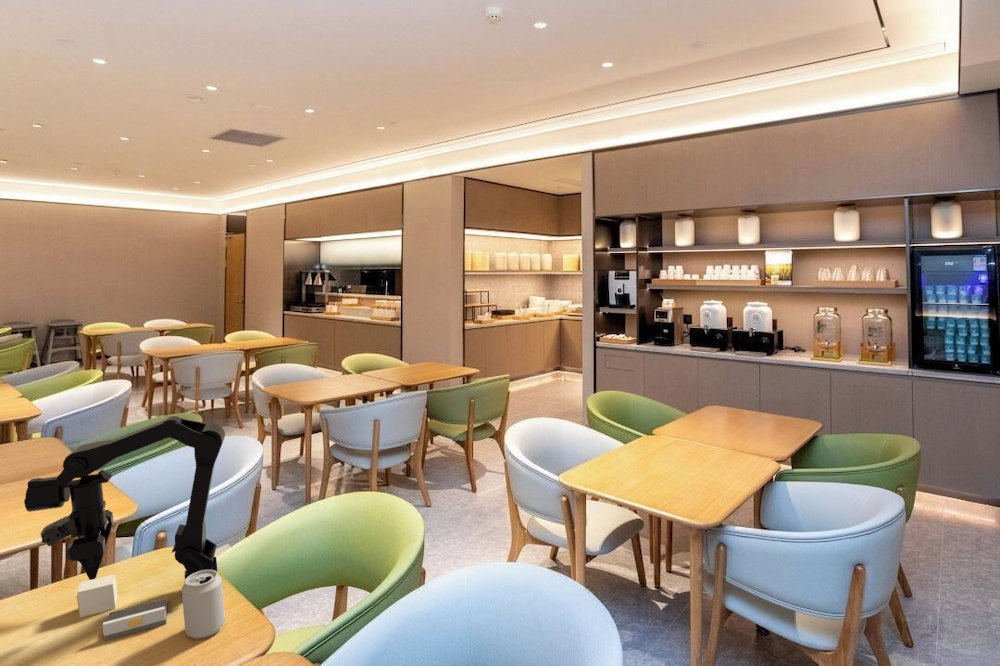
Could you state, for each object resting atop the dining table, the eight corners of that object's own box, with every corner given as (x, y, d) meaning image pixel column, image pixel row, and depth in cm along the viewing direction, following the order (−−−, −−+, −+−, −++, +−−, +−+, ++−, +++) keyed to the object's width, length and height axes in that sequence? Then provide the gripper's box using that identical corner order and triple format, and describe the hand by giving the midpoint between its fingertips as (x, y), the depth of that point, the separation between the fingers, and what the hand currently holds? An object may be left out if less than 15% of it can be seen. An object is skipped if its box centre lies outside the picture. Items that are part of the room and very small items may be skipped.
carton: (117, 598, 132) (115, 574, 131) (115, 608, 128) (112, 583, 127) (82, 607, 129) (79, 582, 128) (79, 618, 125) (76, 592, 124)
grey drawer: (167, 602, 130) (166, 588, 130) (165, 624, 122) (164, 609, 121) (109, 617, 125) (108, 602, 124) (104, 641, 117) (102, 625, 116)
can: (209, 643, 116) (204, 588, 114) (177, 639, 117) (172, 584, 116) (233, 620, 123) (228, 568, 121) (202, 616, 124) (198, 565, 123)
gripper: (51, 495, 130) (59, 560, 132) (31, 528, 113) (41, 601, 115) (109, 485, 135) (116, 547, 137) (98, 515, 119) (106, 585, 121)
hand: (95, 569), depth 127 cm, fingers open, 9 cm apart
